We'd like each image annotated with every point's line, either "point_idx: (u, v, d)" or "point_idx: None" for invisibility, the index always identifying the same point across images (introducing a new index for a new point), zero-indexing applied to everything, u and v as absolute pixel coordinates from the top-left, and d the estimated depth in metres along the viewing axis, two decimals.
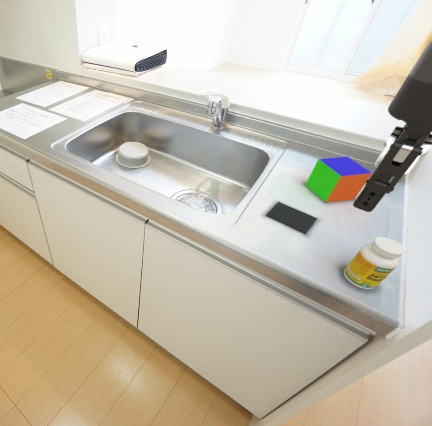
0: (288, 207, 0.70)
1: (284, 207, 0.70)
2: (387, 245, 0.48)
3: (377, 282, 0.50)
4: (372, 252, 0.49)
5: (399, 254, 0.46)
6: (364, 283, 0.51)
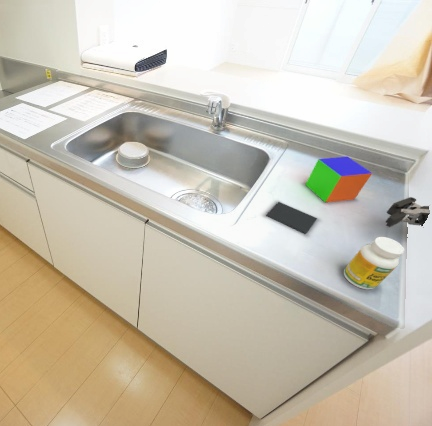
0: (288, 207, 0.70)
1: (284, 207, 0.70)
2: (387, 245, 0.48)
3: (377, 282, 0.50)
4: (372, 252, 0.49)
5: (399, 254, 0.46)
6: (364, 283, 0.51)
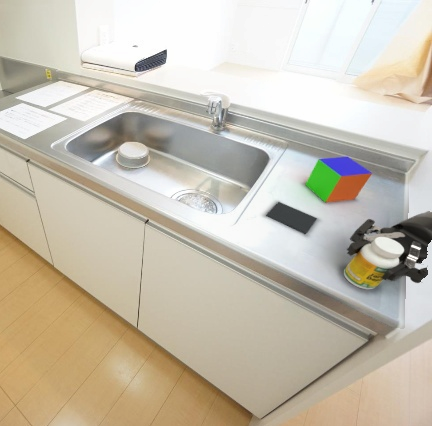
0: (288, 207, 0.70)
1: (284, 207, 0.70)
2: (387, 245, 0.48)
3: (378, 282, 0.50)
4: (372, 252, 0.49)
5: (399, 254, 0.46)
6: (364, 283, 0.51)
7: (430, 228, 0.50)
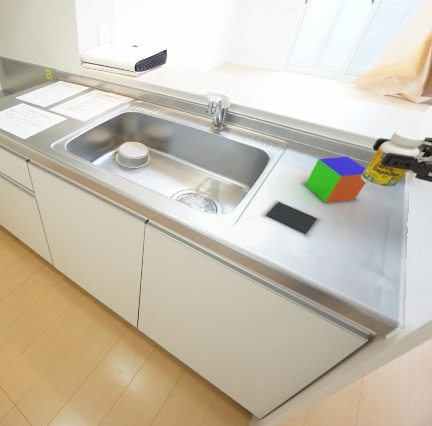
0: (288, 207, 0.70)
1: (284, 207, 0.70)
2: (407, 134, 0.48)
3: (383, 177, 0.51)
4: (390, 141, 0.50)
5: (409, 140, 0.47)
6: (370, 176, 0.52)
7: None
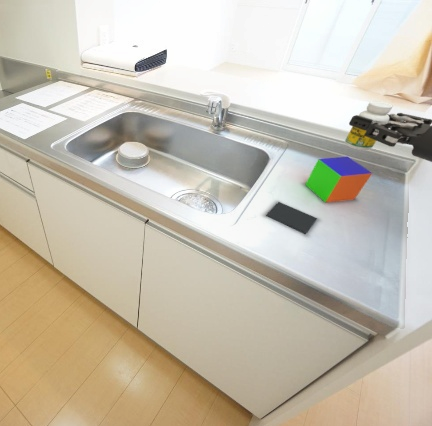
0: (288, 207, 0.70)
1: (284, 207, 0.70)
2: (379, 103, 0.60)
3: (353, 137, 0.64)
4: None
5: (373, 106, 0.59)
6: (347, 137, 0.65)
7: None
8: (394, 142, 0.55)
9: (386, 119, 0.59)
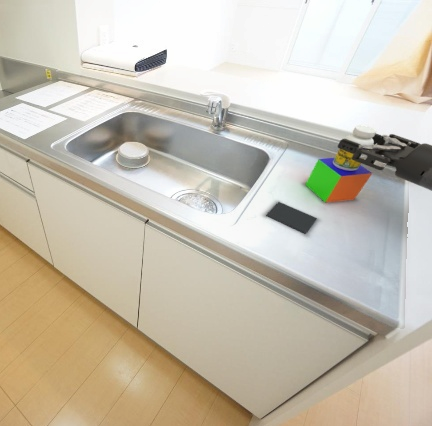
0: (288, 207, 0.70)
1: (284, 207, 0.70)
2: (364, 128, 0.63)
3: (340, 159, 0.67)
4: None
5: (358, 130, 0.63)
6: (335, 157, 0.69)
7: (424, 145, 0.55)
8: (383, 166, 0.57)
9: (370, 143, 0.63)
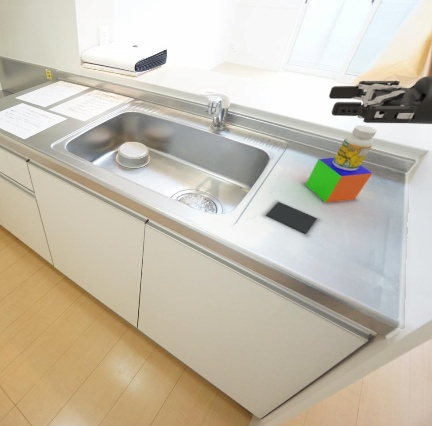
0: (288, 207, 0.70)
1: (284, 207, 0.70)
2: (364, 128, 0.63)
3: (340, 159, 0.67)
4: None
5: (358, 130, 0.63)
6: (335, 157, 0.69)
7: None
8: (411, 117, 0.45)
9: (370, 143, 0.63)
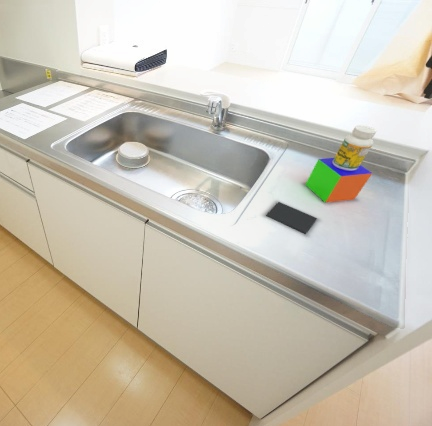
0: (288, 207, 0.70)
1: (284, 207, 0.70)
2: (364, 128, 0.63)
3: (339, 159, 0.67)
4: None
5: (358, 130, 0.63)
6: (334, 157, 0.69)
7: None
8: None
9: (370, 143, 0.63)
